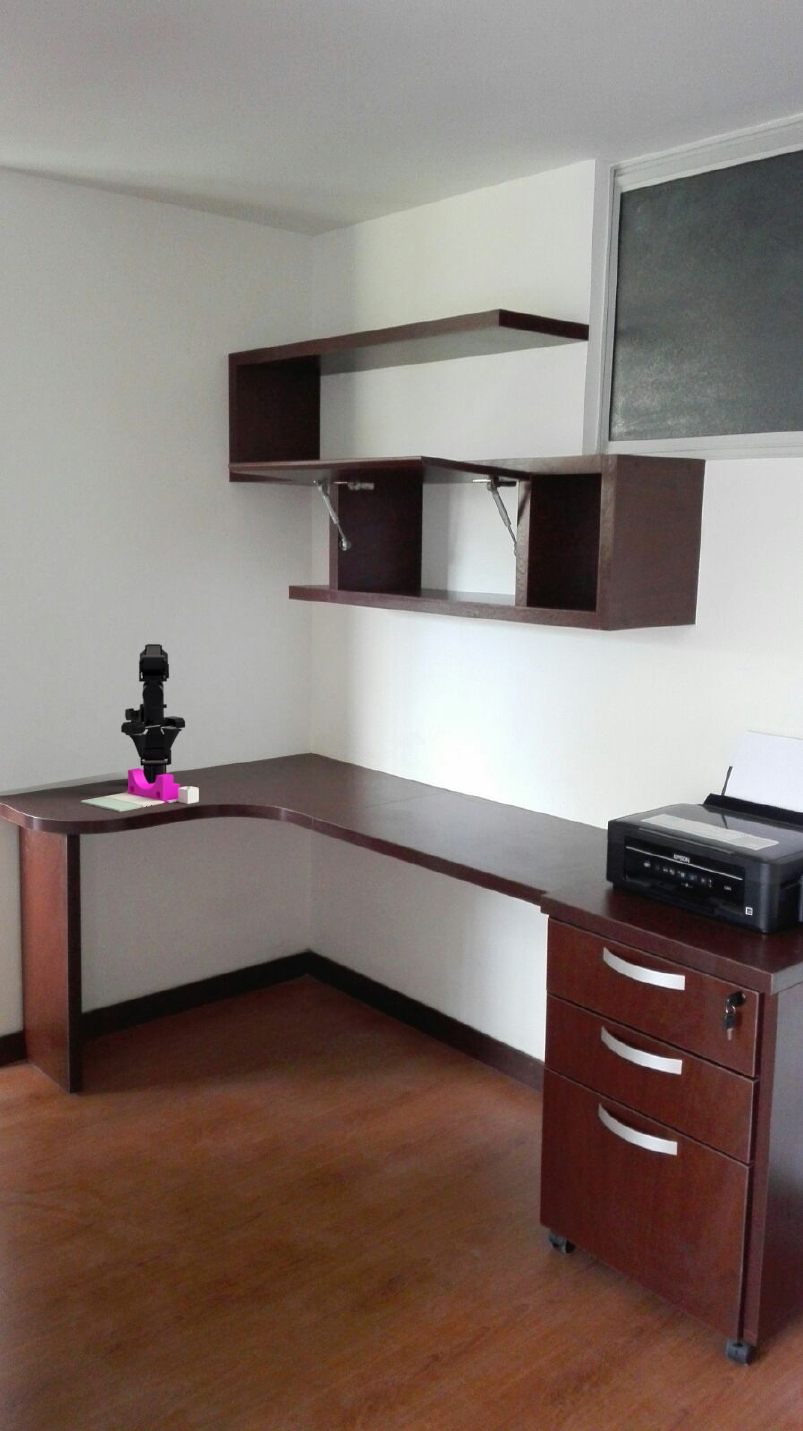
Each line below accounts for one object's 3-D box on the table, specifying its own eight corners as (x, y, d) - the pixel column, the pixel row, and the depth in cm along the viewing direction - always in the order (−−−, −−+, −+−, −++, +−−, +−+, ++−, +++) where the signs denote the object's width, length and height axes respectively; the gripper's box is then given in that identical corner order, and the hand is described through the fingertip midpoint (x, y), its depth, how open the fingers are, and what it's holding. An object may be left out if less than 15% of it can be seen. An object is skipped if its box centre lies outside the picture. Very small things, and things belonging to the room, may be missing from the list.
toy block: (180, 799, 334) (180, 773, 333) (163, 803, 329) (162, 776, 328) (145, 792, 343) (145, 767, 342) (128, 795, 338) (127, 770, 337)
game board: (142, 790, 345) (142, 788, 345) (186, 799, 334) (186, 797, 333) (78, 802, 328) (78, 800, 328) (122, 812, 316) (122, 810, 316)
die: (189, 799, 334) (189, 785, 333) (198, 802, 331) (198, 787, 331) (178, 802, 331) (178, 787, 330) (187, 804, 328) (187, 789, 328)
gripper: (161, 695, 345) (161, 747, 348) (108, 700, 331) (109, 755, 333) (186, 698, 338) (186, 752, 341) (133, 704, 324) (134, 760, 326)
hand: (154, 755), depth 335 cm, fingers open, 9 cm apart
